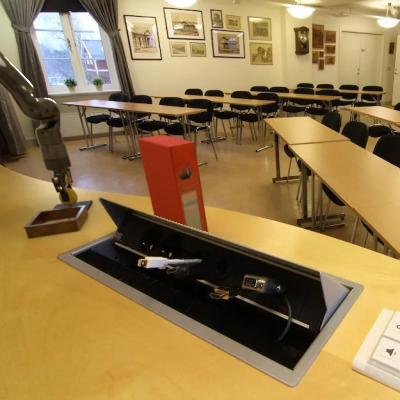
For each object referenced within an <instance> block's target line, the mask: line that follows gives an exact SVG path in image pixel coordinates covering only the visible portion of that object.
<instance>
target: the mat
mask: <svg viewBox="0 0 400 400" xmlns="http://www.w3.org/2000/svg"><path fill="white" fill-rule="evenodd" d="M92 204H93V200H92V199H90V200H83V201H82V200H81V201H77V202H76V203H75V204H74V205H73V206H72V207H76V206H84V205H86V209H87V212H88V211H89V209H90V208H91V206H92ZM68 207H70V206H66V205H64V204H62V203H58V204H55V205H54V207H53V208H52V209H60V208H68Z"/></svg>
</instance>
